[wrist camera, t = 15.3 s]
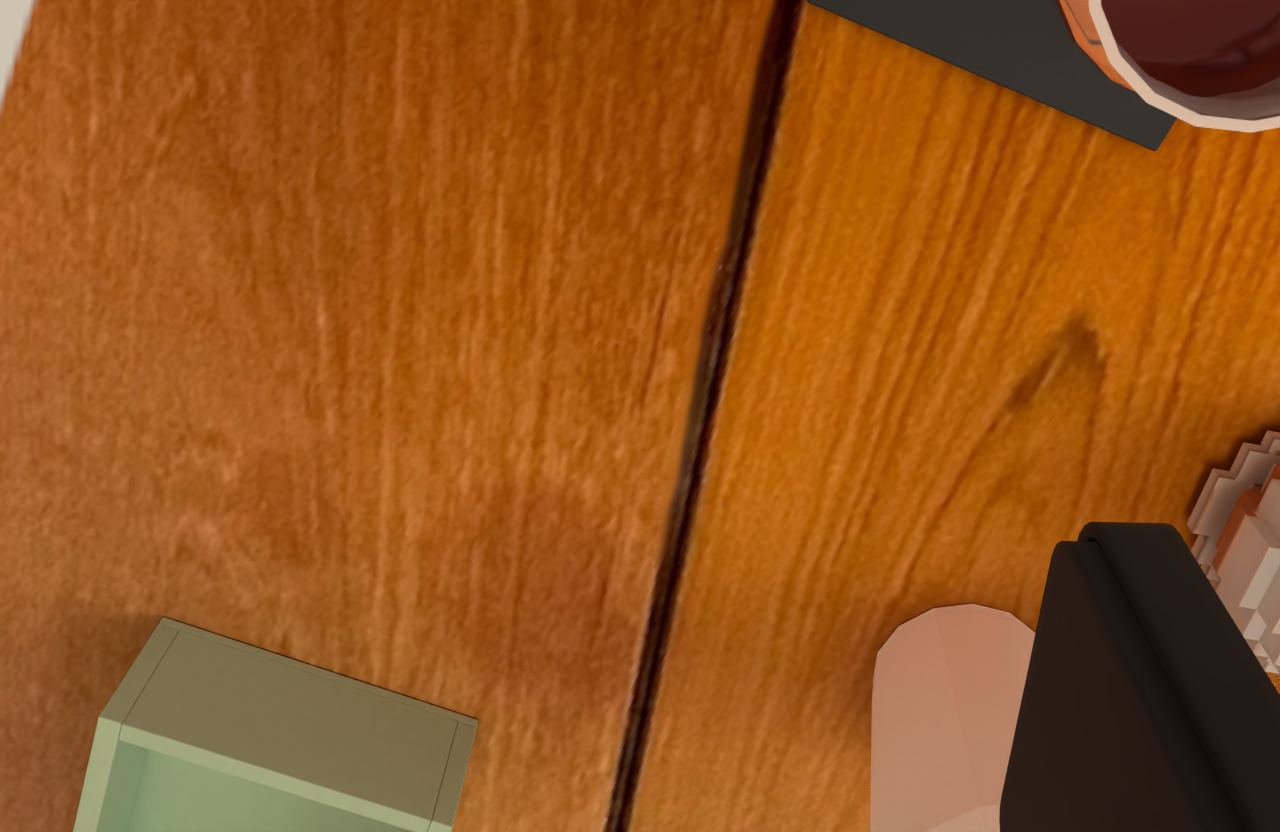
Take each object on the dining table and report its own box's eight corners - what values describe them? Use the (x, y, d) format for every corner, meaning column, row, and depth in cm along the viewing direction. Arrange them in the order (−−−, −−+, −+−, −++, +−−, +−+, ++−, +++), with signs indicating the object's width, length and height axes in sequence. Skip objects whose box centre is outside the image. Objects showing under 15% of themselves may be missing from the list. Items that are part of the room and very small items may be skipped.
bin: (110, 830, 51) (48, 940, 46) (162, 616, 45) (98, 716, 40) (392, 915, 52) (360, 1030, 47) (478, 719, 46) (452, 828, 42)
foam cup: (911, 798, 47) (975, 1126, 36) (782, 647, 44) (807, 956, 32) (1134, 696, 44) (1281, 1019, 33) (1013, 526, 41) (1130, 820, 29)
